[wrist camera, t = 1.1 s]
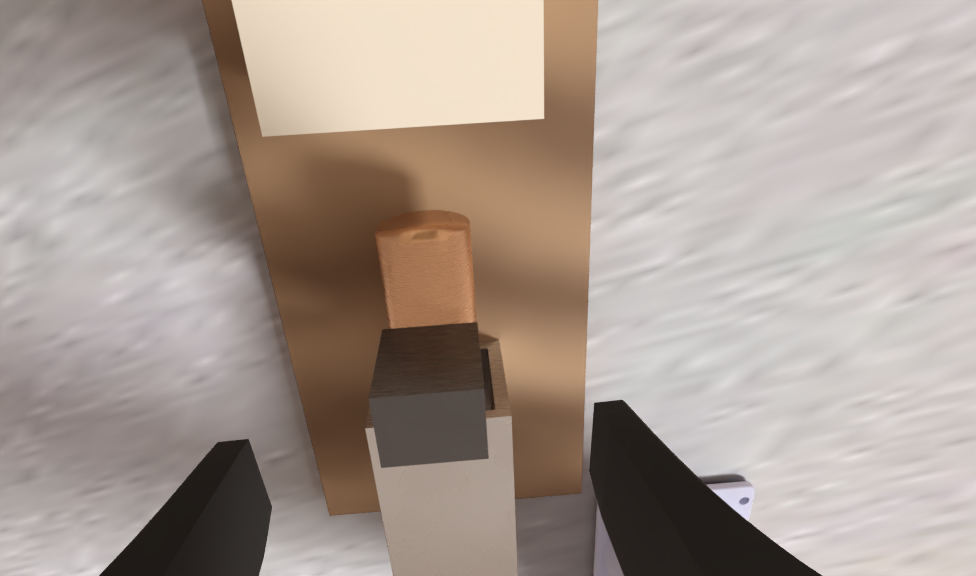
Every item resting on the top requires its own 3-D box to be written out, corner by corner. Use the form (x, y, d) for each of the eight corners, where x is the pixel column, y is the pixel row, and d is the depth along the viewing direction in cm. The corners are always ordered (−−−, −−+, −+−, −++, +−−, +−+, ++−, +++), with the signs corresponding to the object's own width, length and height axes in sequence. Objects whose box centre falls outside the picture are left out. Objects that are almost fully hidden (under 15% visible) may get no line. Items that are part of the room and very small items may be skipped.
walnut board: (577, 477, 28) (581, 493, 27) (333, 499, 27) (329, 515, 26) (592, -68, 18) (600, -72, 17) (203, -48, 17) (189, -52, 16)
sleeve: (506, 484, 26) (517, 576, 22) (403, 493, 26) (395, 588, 22) (499, 339, 23) (511, 416, 18) (380, 348, 23) (365, 428, 18)
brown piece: (488, 494, 25) (500, 640, 19) (421, 501, 25) (413, 648, 19) (468, 207, 19) (477, 293, 13) (380, 213, 19) (351, 303, 13)
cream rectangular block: (520, 92, 19) (544, 118, 14) (307, 105, 18) (262, 136, 14) (518, -15, 17) (543, -22, 13) (287, -2, 17) (230, -5, 12)
